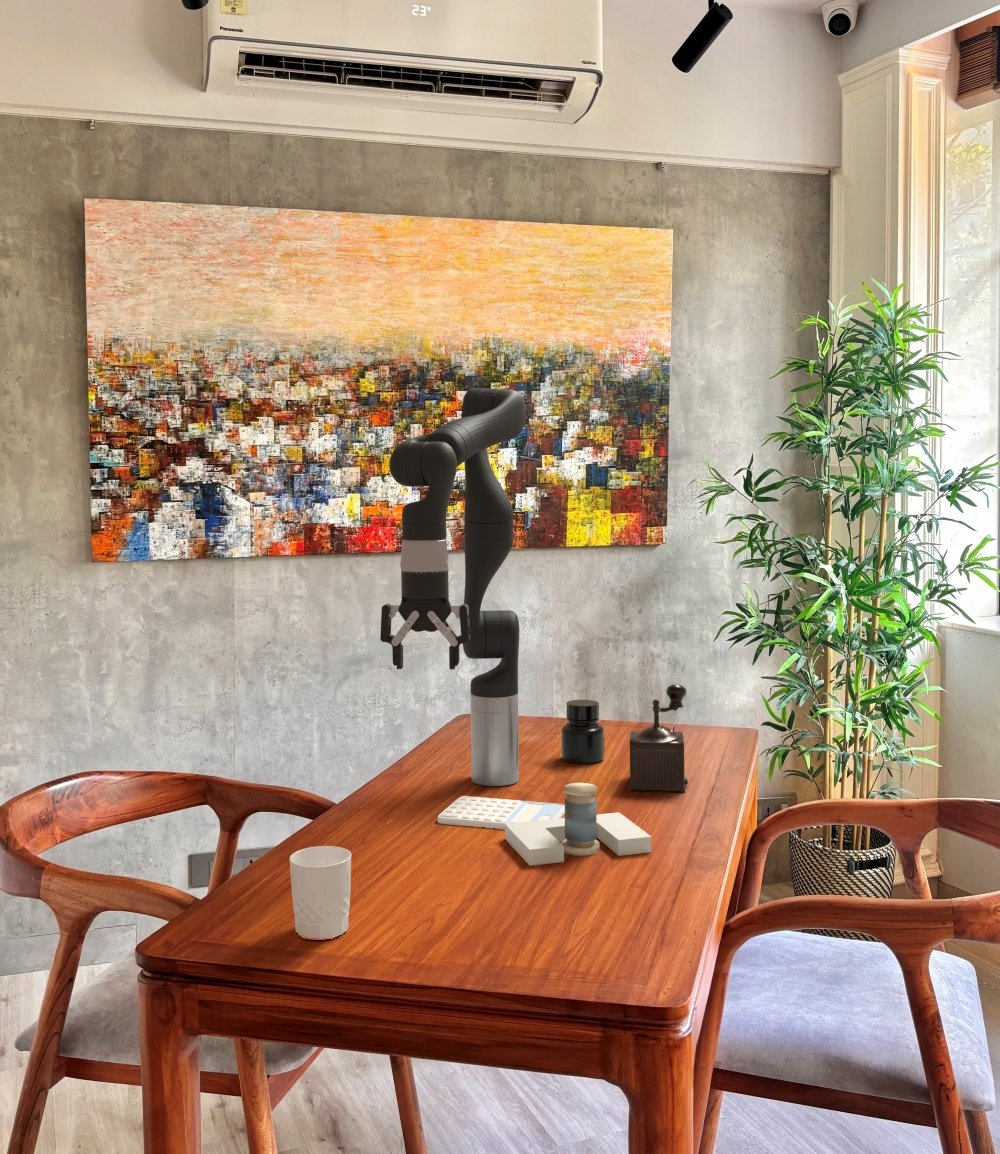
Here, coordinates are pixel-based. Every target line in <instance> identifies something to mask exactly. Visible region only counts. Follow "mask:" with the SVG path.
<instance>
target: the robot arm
mask: <svg viewBox="0 0 1000 1154" xmlns="http://www.w3.org/2000/svg"><path fill="white" fill-rule="evenodd" d="M461 404H462V405H461V413H460V414H461V417H460V418H456V419H453V420H450V421H448V422H447V423H444V424H442V425H441V426H439V427H438V428H436V429H435V430H433V431H432V432H430V433H427V434H422V435H421V434H420V435H419V436H416V437H412V438H409V439H406V440H404V441H402V442H400V443H399V444H398V445H397V446H396V447H395V448H394V449H393V450H392V452H391V454H390V458H389V463H388V467H389V468H388V469H389V473H390V475H391V477H392V479H393V480H394V481H395V483H398V484H399V485H401V486H404V487H408V488H409V487H410V488H411V487H412V488H414V487H415V488H416V487H417V488H418V487H420V488H421V487H428V489H427V491H426V494H425V496H424V498H423V499H421V500H417V501H413V502H408V503H406V504H405V505H404V506H403V508H402V512H401V537H402V539H401V550H400V551H401V552H400V562H399V564H400V571H401V572H400V578H401V582H400V583H401V584H400V585H401V588H400V589H401V594H400V595H401V601H400V604H398V605H397V604H396V605H395V604H391V603H385V604H383V605H382V606H381V615H380V617H381V618H380V634H379V635H380V636H379V637H380V638H379V639H380V641H381V642H383V643H387V644H389V645H391V649H392V650H391V651H392V664H393V666H395V667H396V670H402V669H403V668H404V645H403V644H402V642H403V640H404V639H405V638H406V636H407V635H408V634H409V633H410V631H411V630H412V631H414V632H415V633H420V632H425V631H426V632H429V633H435V632H436V631H439V632H440V634H441V635H442V636H443V637H444V638H445V639H446V641H447V642H448V643H449V644H450V646H449V647H448V653H449V654H448V655H449V660H448V661H449V663H448V664H449V665H448V666H449V668H448V669H449V670H451V671H452V670H455V669H456V667H458V665H459V664H460V646H461V645H462V649H463V653H464V655H465V656H466V657H467V658H468V659H472V660H474V659H475V660H477V659H480V660H483V659H485V660H486V659H488V660H490V659H500V662H499V663H498V664H497V665H496V666H494V667H492V669H490V670H488V671H485V672H484V673H481V674H479V675H476V676H474V677H472V679H471V681H470V687H469V688H470V737H471V738H470V746H471V747H470V749H471V750H470V752H471V753H470V755H471V757H470V763H471V764H470V765H471V767H470V769H471V770H470V771H471V772H470V773H471V778H470V779H471V782H472V783H474V784H476V785H480V786H483V787H484V786H485V787H503V786H509V785H513V784H516V783H518V781H519V779H520V778H519V776H520V774H519V773H520V770H519V764H520V763H519V760H520V759H519V758H520V757H519V756H520V755H519V744H520V743H519V741H520V740H519V653H520V652H519V650H520V622H519V621H520V620H519V617H518V615H517V613H516V612H515V611H514V610H508V609H507V610H506V609H505V610H504V609H503V610H502V609H501V610H481V608H482V603H483V599H484V596H485V594H486V592H487V590H488V589H487V588H488V587H489V585H490V583H491V581H492V580H493V578H494V576H495V575H496V573H497V572H498V570H499V569H500V568H501V566H502V565H503V563H504V561H505V560H506V559H507V557H508V555H510V554H509V553H510V552H511V549H512V548H513V544H514V509H513V506H512V503H511V501H510V499H509V497H508V495H507V493H506V492H505V489H503V486H502V485H501V483H500V482H499V480H498V479H497V476H496V474H495V473H494V471H493V469H492V466H491V464H490V463H491V462H490V460H489V455H488V448H491V447H494V446H495V445H497V444H501V443H503V442H506V441H510V440H513V439H516V438H518V437H519V435H520V434H521V433H522V432H523V430H524V427H525V424H526V419H527V418H526V417H527V407H526V402H525V399H524V397H523V396H522V394H521V393H520V392H518V391H516V390H513V389H507V388H489V387H488V388H482V387H474V388H470V389H468V390H467V391H466V392H465V393H464V396H463V400H462V403H461ZM463 463H464V516H463V518H464V519H463V521H464V522H463V527H464V529H463V530H464V531H463V533H464V534H463V535H464V536H463V537H464V538H463V539H464V543H463V544H464V573H465V574H464V576H465V577H464V594H463V595H464V597H463V598H464V599H463V603H462V604H459V605H456V604H455V605H451V603H450V599H449V596H450V595H449V589H450V588H449V584H450V583H449V550H448V544H447V513H448V508H449V502H450V498H451V493H452V488H453V486H454V482H455V479H456V474H457V471H458V467H459V466H460V465H462V464H463ZM397 613H399V615H400V616H401V618H402V619H403V621H405V622H404V623H403V625H402V626H401V627H400V629H399V630H398V632H397V633H396V634H395V635H394V634H392V619H393V618H395V617H396V615H397ZM452 613H454V616H455V618H456V619H458V620H459V624H460V626H459V627H460V635H457V634H456V633H455V631H454V629H453V628H452V626H451V625H450V624H449V622H448V621H447V619H448V618H449V617H450V615H451V614H452Z"/></svg>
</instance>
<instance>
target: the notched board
mask: <svg viewBox="0 0 1000 1154" xmlns="http://www.w3.org/2000/svg"><path fill="white" fill-rule="evenodd" d="M565 839H566V838H565V817H561V818H558V819H548V820H537V821H527V822H517V823H507V824H505V829H504V840H506V842H507V843H508V844H509V845H510V846H511V847H512V848H513V849H514V851H516V853H517V854H518V855H519V856H520V857H521V858H522V859H523V860H524V861H525V862H526V863H527V865H528V866H531V867H532V866H539V865H548V864H556V863H557V864H558V863H559V864H560V863H564V862H565V853H564V846H563V845H562V841H563V840H565ZM596 839H599V840H598V841H601V842H602V843H603V844H604V845H606V847H608V848H609V849H610V850H611V851H612V852H614V853H615V854H616V855H617V856H618V857H620V856H630V855H636V854H647V853H652V836H651V835H650V834H649V833H647V832H646V831H645V830H643V829H642V828H641V827H639V826H638V825H637V824H636V823H634V822H633V821H631V820H630V819H629V818H628V817H626V816H625V815H623V814H622V813H620V811H619V812H611V813H610V812H609V813H600V814H597V816H596Z"/></svg>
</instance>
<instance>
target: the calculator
mask: <svg viewBox="0 0 1000 1154" xmlns="http://www.w3.org/2000/svg"><path fill="white" fill-rule="evenodd" d="M563 816H565V804H562V803H554V802H541V801H531V800H529V801H528V800H518V799H509V798H506V799H504V798H491V797H482V796H467V795H461V796H460V797H458V798H457V799H455V800H454V801H453V802H452V803H451V804H450V805H449V806H447V807H446V808H445V809H444V810H443V811H442V812H440V813H439V814H438V815H437V818H436V819H437V820H436V821H437V823H438V824H441V825H451V826H460V827H461V826H462V827H472V828H473V827H474V828H482V827H485V828H484V829H493V828H495V829H496V830H505V824H507V823H517V822H527V821H537V820H548V819H558V818H563ZM495 829H494V830H495Z"/></svg>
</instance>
